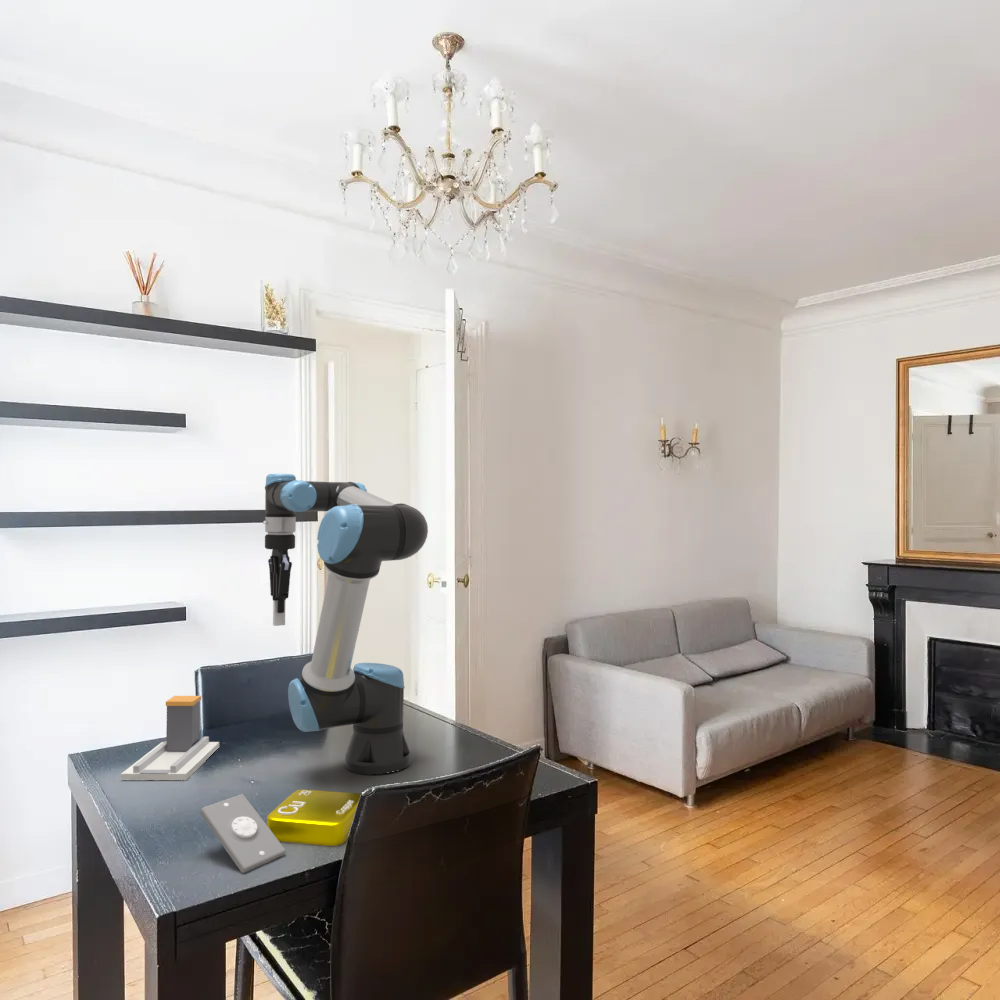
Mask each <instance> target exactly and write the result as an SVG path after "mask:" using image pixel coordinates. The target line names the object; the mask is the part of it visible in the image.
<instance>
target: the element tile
mask: <svg viewBox="0 0 1000 1000" xmlns="http://www.w3.org/2000/svg"><path fill="white" fill-rule="evenodd" d="M361 794H362V793H356V792H355V793H354V792H342V791H329V790H315V789H304V788H303V789H297V790H296V791H294V792H292V793H291V794H290V795H289V796H287V798H285V799H284V800H283V801H282V802H281V803H280V804H279V805H278V806H276V807H275V808H274V809H273V810H272V811H271V812H269V813H268V815H266V825H267V826H268V828H269V829H270V830H271V831H272V833H273V834H274V835H275V837H276V838H277V839H278V841H279V842H280V843H291V844H305V845H306V844H307V845H316V846H317V845H318V846H327V847H328V846H329V847H330V846H331V847H334V846H335V847H337V846H340V845H343V844H345V842H347V840H348V839H347V837H348V834H349V831H350V827H351V824H352V821H353V818H354V814H355V811H356V807H357V804H358V801H359V798H360V795H361ZM346 839H347V840H346Z"/></svg>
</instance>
